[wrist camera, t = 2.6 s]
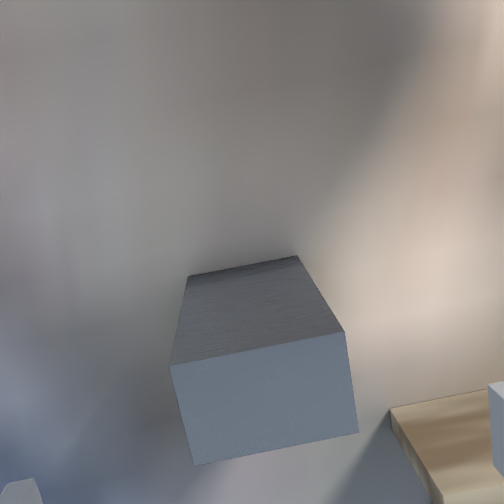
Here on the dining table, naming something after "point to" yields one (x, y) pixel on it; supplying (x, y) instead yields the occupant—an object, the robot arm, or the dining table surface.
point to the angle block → (259, 362)
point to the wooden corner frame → (451, 448)
